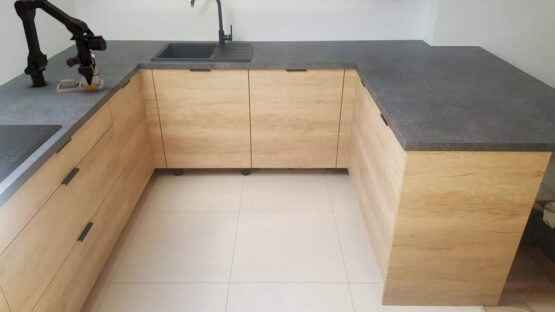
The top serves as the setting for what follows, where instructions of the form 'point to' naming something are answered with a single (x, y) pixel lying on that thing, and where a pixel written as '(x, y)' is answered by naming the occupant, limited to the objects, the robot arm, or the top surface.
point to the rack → (80, 87)
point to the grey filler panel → (68, 83)
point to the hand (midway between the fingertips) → (90, 82)
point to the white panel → (94, 81)
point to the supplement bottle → (95, 65)
